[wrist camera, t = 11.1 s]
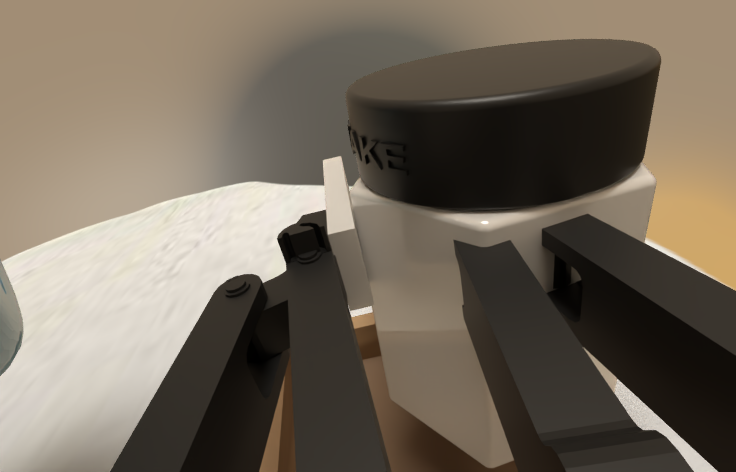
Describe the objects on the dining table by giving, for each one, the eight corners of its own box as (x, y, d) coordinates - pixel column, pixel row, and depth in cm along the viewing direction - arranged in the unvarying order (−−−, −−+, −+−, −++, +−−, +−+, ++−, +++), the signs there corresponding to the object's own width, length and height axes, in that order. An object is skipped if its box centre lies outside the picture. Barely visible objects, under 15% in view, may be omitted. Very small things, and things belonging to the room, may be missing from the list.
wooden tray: (199, 778, 12) (146, 753, 11) (257, 384, 25) (237, 343, 24) (773, 639, 13) (813, 593, 11) (538, 318, 26) (538, 273, 24)
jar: (412, 296, 22) (381, 59, 16) (579, 303, 20) (612, 27, 14) (371, 452, 15) (286, 122, 9) (629, 495, 12) (745, 77, 6)
